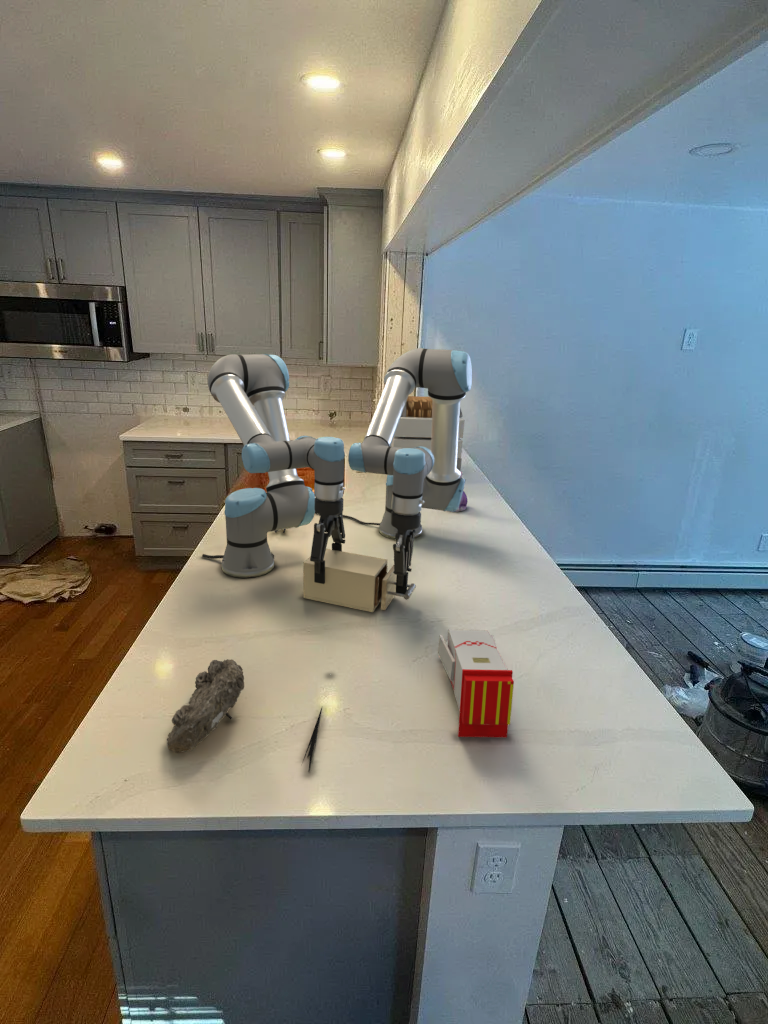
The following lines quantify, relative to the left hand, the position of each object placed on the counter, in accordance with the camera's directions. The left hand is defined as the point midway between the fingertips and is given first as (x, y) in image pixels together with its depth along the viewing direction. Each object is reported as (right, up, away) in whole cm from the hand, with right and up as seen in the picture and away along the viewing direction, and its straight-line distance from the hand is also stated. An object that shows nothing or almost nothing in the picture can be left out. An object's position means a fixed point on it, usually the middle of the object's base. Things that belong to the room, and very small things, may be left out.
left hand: (328, 573), depth 155 cm
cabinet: (+5, -6, +1) cm, 8 cm away
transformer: (+32, +36, +120) cm, 130 cm away
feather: (+3, -23, -46) cm, 52 cm away
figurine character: (-21, +11, +46) cm, 51 cm away
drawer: (+11, -6, -2) cm, 13 cm away
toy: (+33, -21, -36) cm, 53 cm away
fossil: (-18, -22, -47) cm, 55 cm away
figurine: (+44, +18, +73) cm, 88 cm away
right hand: (+20, -5, -5) cm, 21 cm away
